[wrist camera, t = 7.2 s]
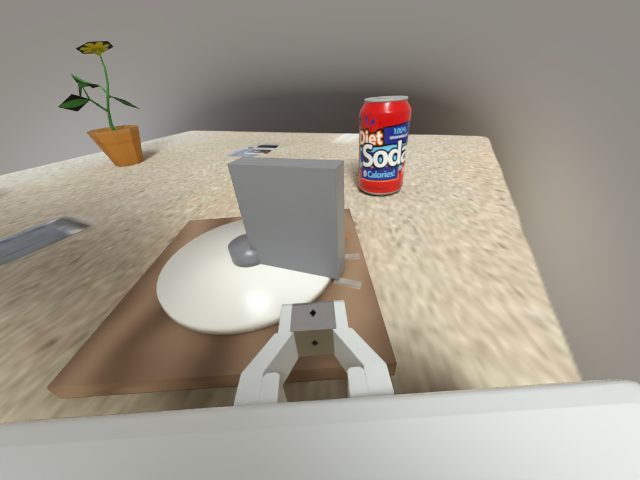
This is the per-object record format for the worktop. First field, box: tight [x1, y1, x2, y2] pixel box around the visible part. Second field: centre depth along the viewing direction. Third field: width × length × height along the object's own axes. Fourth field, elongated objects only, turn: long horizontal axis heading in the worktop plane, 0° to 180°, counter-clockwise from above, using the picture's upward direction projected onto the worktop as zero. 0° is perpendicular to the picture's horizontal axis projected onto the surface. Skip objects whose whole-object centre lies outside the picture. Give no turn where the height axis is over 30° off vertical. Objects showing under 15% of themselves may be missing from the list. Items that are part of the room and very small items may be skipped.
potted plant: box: [59, 41, 143, 167], centre depth 70 cm, size 18×19×30 cm
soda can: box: [359, 96, 411, 196], centre depth 42 cm, size 8×8×15 cm
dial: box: [156, 157, 345, 335], centre depth 24 cm, size 19×18×11 cm
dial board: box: [47, 209, 396, 398], centre depth 27 cm, size 24×24×2 cm
